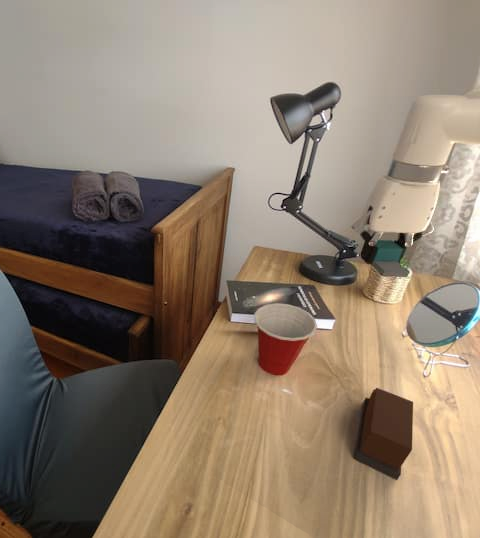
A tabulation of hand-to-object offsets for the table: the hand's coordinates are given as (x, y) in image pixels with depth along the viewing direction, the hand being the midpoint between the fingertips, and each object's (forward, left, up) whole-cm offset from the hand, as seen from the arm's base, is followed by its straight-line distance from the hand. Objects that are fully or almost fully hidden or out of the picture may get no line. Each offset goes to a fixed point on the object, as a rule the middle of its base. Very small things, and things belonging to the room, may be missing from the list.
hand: (379, 260), depth 73 cm
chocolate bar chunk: (+8, +28, -18) cm, 34 cm away
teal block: (0, +1, 0) cm, 2 cm away
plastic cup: (+21, +13, -18) cm, 31 cm away
